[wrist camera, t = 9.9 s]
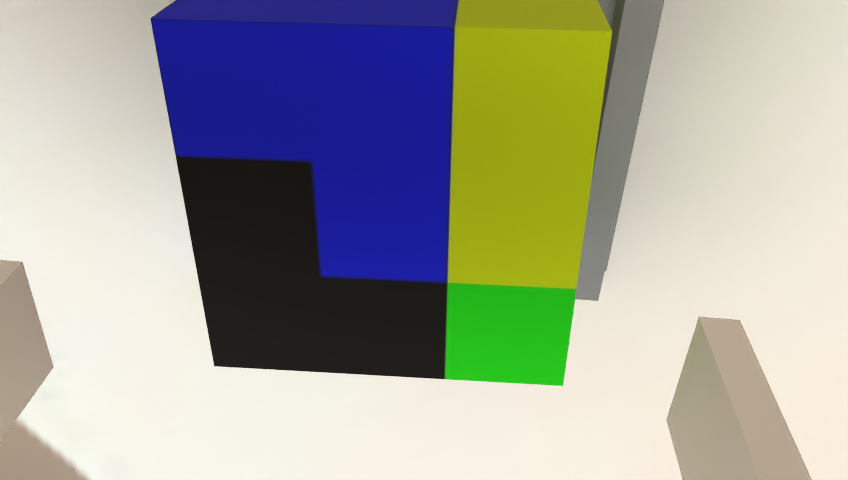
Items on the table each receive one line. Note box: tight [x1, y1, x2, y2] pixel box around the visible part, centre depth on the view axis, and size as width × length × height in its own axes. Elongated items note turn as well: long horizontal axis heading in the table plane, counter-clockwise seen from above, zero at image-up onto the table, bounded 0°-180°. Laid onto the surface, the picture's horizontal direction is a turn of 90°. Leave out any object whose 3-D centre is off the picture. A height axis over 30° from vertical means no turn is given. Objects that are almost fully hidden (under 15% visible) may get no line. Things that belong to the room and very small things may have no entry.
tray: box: [575, 0, 664, 301], centre depth 26 cm, size 17×16×6 cm
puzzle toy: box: [151, 0, 612, 386], centre depth 23 cm, size 10×10×10 cm
